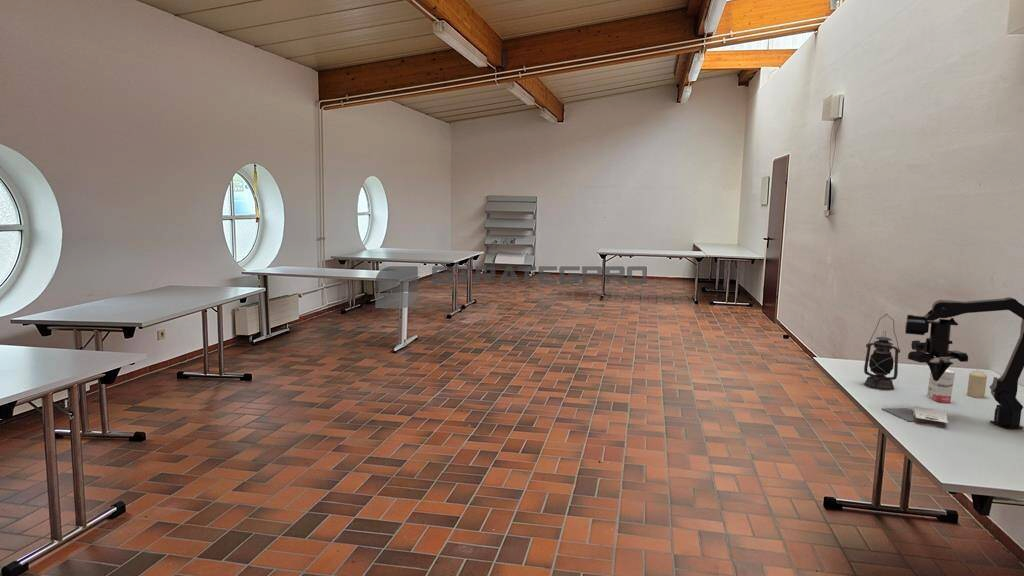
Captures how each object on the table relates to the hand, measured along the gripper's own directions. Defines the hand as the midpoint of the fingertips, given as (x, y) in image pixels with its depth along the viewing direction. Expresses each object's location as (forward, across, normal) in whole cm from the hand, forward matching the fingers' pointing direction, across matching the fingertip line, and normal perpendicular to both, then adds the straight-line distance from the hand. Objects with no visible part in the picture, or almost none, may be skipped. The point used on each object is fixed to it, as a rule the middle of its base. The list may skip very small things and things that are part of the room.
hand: (935, 380), depth 217 cm
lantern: (+12, -6, -34) cm, 36 cm away
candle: (+13, -36, -20) cm, 43 cm away
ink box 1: (+12, -17, -16) cm, 27 cm away
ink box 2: (+10, +4, +2) cm, 11 cm away
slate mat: (+12, +10, +1) cm, 16 cm away
